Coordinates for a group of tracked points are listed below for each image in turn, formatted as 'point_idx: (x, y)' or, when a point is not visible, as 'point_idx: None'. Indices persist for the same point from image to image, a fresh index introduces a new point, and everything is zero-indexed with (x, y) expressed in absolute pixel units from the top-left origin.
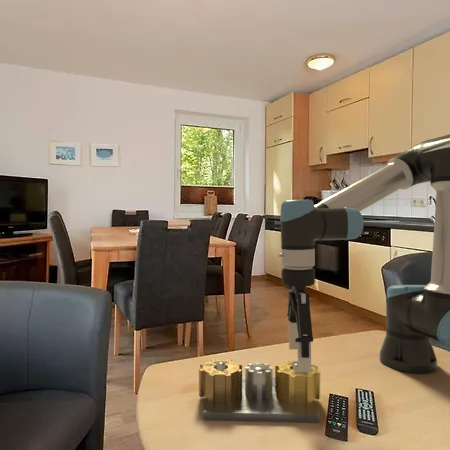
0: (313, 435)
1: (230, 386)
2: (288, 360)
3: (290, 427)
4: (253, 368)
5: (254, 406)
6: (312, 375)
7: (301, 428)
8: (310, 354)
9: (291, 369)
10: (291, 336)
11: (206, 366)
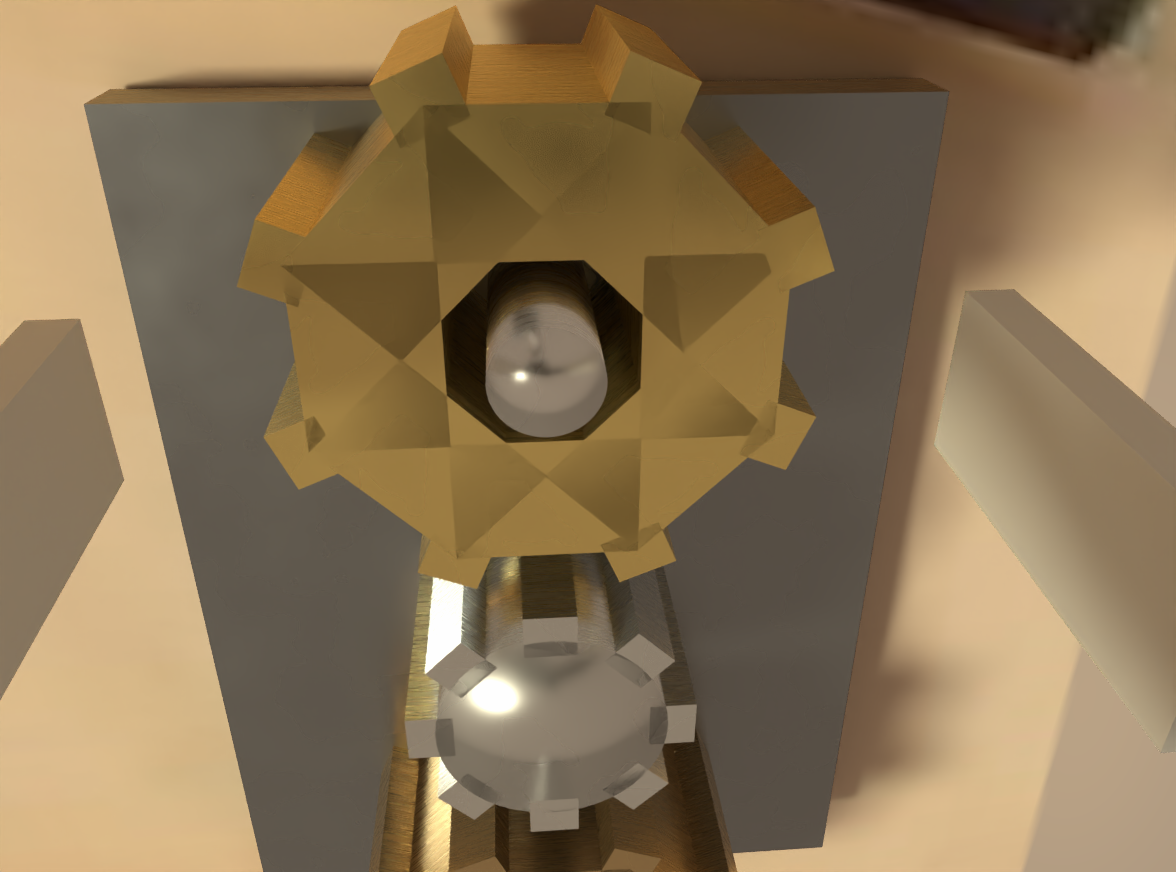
0: (1075, 163)
1: (720, 828)
2: (274, 437)
3: (941, 322)
4: (577, 771)
5: (763, 590)
6: (729, 183)
7: (966, 242)
8: (1150, 417)
9: (474, 398)
10: (34, 584)
11: None
